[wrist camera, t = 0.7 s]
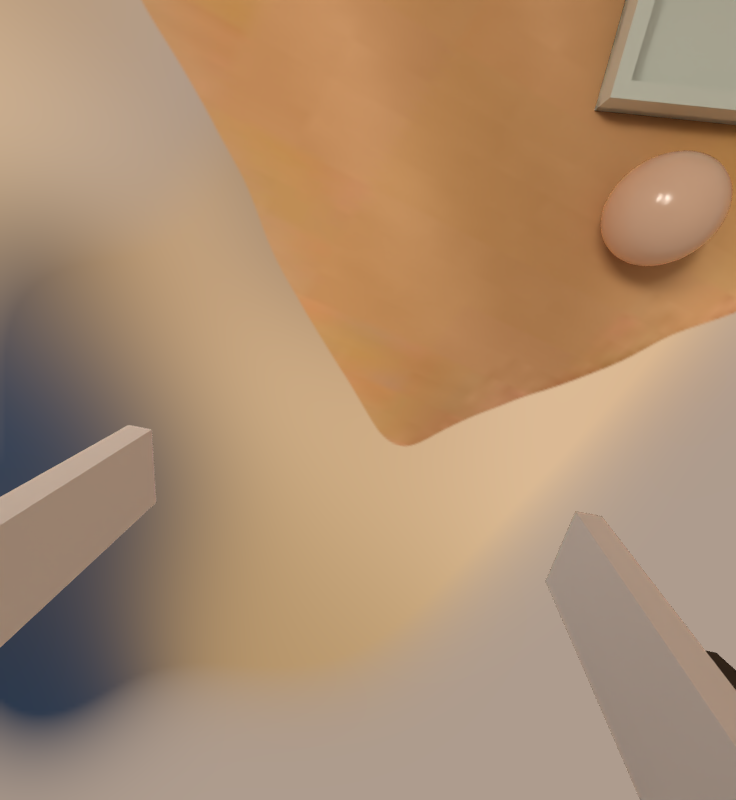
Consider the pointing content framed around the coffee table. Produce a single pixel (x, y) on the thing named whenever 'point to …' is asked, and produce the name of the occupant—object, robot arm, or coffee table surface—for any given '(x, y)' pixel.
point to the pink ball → (666, 208)
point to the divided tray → (673, 61)
